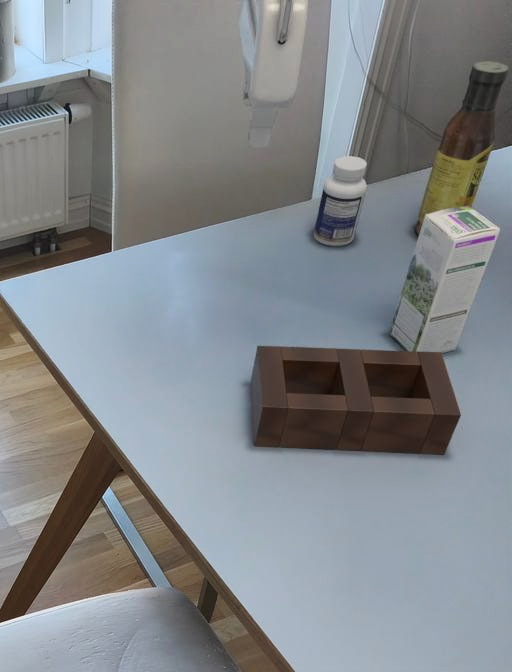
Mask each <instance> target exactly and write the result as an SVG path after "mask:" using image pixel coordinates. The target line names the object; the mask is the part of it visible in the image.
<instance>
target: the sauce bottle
mask: <svg viewBox="0 0 512 672" xmlns="http://www.w3.org/2000/svg"><path fill="white" fill-rule="evenodd" d="M508 72H509V66H508V65H506V64H504V63H502V62H498V61H491V60H489V61H487V60H486V61H485V60H484V61H478V62H475V63H474V64H473V65H472V67H471V71H470V74H469V78H468V86H467V89H466V92H465V96H464V98H463V99H462V104H461V105H462V106H461V108H460V109H459V110H458V111H457V112H456V113H455V114H454V115H453V116H452V117H451V118H450V119H449V121H448V122H447V124H446V126H445V127H444V131H443V135H442V138H441V140H440V144H439V147H438V148H437V151H436V154H435V156H434V157H435V158H434V160H433V164H432V167H431V170H430V174H429V177H428V180H427V184H426V187H425V190H424V194H423V196H422V200H421V204H420V207H419V210H418V214H417V220H416V224H415V226H414V229H415V233H416V234H417V235H418V236H419V234H420V230H421V227H422V224H423V221H424V217H425V216H426V214H430V213H433V212H436V211H440V210H444V209H449V208H455V207H463V206H470V207H471V208H473V204H474V202H475V199H476V197H477V193H478V191H479V188H480V184H481V181H482V178H483V176H484V173H485V169H486V166H487V164H488V161H489V159H490V156H491V152H492V149H493V146H494V143H495V139H496V138H495V137H496V136H495V135H496V134H495V133H496V131H495V118H496V117H495V115H496V114H495V113H496V106H497V101H498V98H499V96H500V93H501V90H502V85H503V84H504V83H505V82H506V80H507V76H508Z"/></svg>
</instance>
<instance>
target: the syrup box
mask: <svg viewBox="0 0 512 672" xmlns="http://www.w3.org/2000/svg"><path fill="white" fill-rule="evenodd" d="M500 232H501V228H500V227H498V226H497V225H496V224H494V223H493V222H492V221H490V220H489V219H487V217H485V216H483V215H482V214H480V213H479V212H478V211H477V210H476V209H474V208H473V207H470V206H463V207H455V208H449V209H444V210H440V211H436V212H433V213H430V214H426V216H425V217H424V221H423V224H422V227H421V230H420V234H419V235H418V238H417V241H416V243H415V247H414V250H413V253H412V257H411V260H410V264H409V266H408V269H407V274H406V276H405V279H404V283H403V286H402V290H401V293H400V296H399V299H398V302H397V306H396V309H395V313H394V315H393V319H392V321H391V325H390V329H389V331H388V334H389V336H391V338H392V339H394V340H395V342H396V343H398V344H399V345H400V347H402V348H403V350H404V351H416V352H418V351H419V352H441V353H442V354H443V353H448V352H452V351H455V350H456V349H457V345H458V343H459V341H460V338H461V335H462V332H463V330H464V326H465V324H466V322H467V319H468V316H469V313H470V311H471V308H472V306H473V303H474V300H475V298H476V295H477V292H478V291H479V288H480V284H481V282H482V279H483V276H484V274H485V272H486V270H487V267H488V264H489V261H490V258H491V256H492V254H493V251H494V248H495V245H496V243H497V239H498V237H499V234H500Z"/></svg>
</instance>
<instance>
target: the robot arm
mask: <svg viewBox="0 0 512 672" xmlns="http://www.w3.org/2000/svg"><path fill="white" fill-rule="evenodd" d="M237 8H238V29H239V35H240V43H241V45H240V46H241V53H242V58H243V67H244V83H243V90H242V91H243V92H242V99H243V105H245V106H246V107H252V109H251V118H250V121H249V129H248V136H247V141H248V145H249V148H251V149H266V148H267V147H268V146H269V145H270V141H271V137H272V129H273V126H274V124H275V120H276V118H277V115H278V112H279V109H286V108H289V107H291V106H292V104H293V102H294V99H295V98H296V97H295V96H296V93H297V89H298V84H299V77H300V71H301V63H302V57H303V52H304V44H305V38H306V30H307V23H308V22H307V21H308V11H309V10H308V9H309V0H238V7H237Z"/></svg>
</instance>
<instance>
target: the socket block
mask: <svg viewBox="0 0 512 672" xmlns="http://www.w3.org/2000/svg"><path fill="white" fill-rule="evenodd" d="M249 390H250V391H249V392H250V402H251V403H250V405H251V416H252V417H251V418H252V432H253V442H254V444H253V445H254V447H265V448H266V447H268V448H289V449H290V448H292V449H311V450H312V449H315V450H335V451H336V450H337V451H357V452H358V451H360V452H361V451H362V452H379V453H380V452H382V453H399V454H400V453H402V454H422V455H441V456H442V455H443V456H444V455H445V454H446V451H447V449H448V447H449V444H450V442H451V440H452V438H453V435H454V433H455V431H456V428H457V425H458V424H459V421H460V420H461V419H460V418H461V416H462V413H461V411H460V407H459V404H458V401H457V398H456V395H455V391H454V388H453V384H452V382H451V379H450V376H449V372H448V368H447V366H446V363H445V360H444V357H443V353H441V352H419V351H418V352H416V351H406V350H389V349H388V350H387V349H386V350H385V349H361V348H359V349H358V348H337V347H336V348H334V347H333V348H332V347H308V346H307V347H306V346H279V345H257V346H256V351H255V356H254V361H253V366H252V372H251V376H250V382H249Z"/></svg>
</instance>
